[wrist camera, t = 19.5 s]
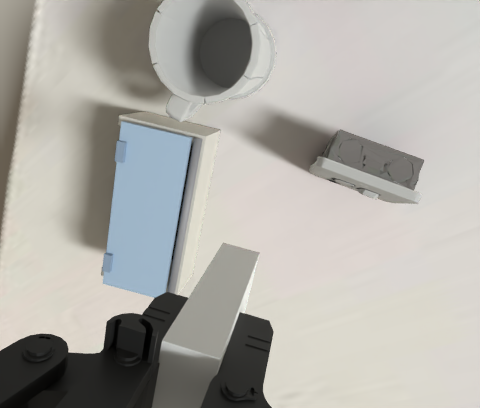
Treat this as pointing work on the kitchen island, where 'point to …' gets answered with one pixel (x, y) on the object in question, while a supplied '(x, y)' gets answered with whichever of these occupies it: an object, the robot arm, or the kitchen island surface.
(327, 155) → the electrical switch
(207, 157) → the white u-shaped bracket
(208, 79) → the cup
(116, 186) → the cover
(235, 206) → the kitchen island surface
